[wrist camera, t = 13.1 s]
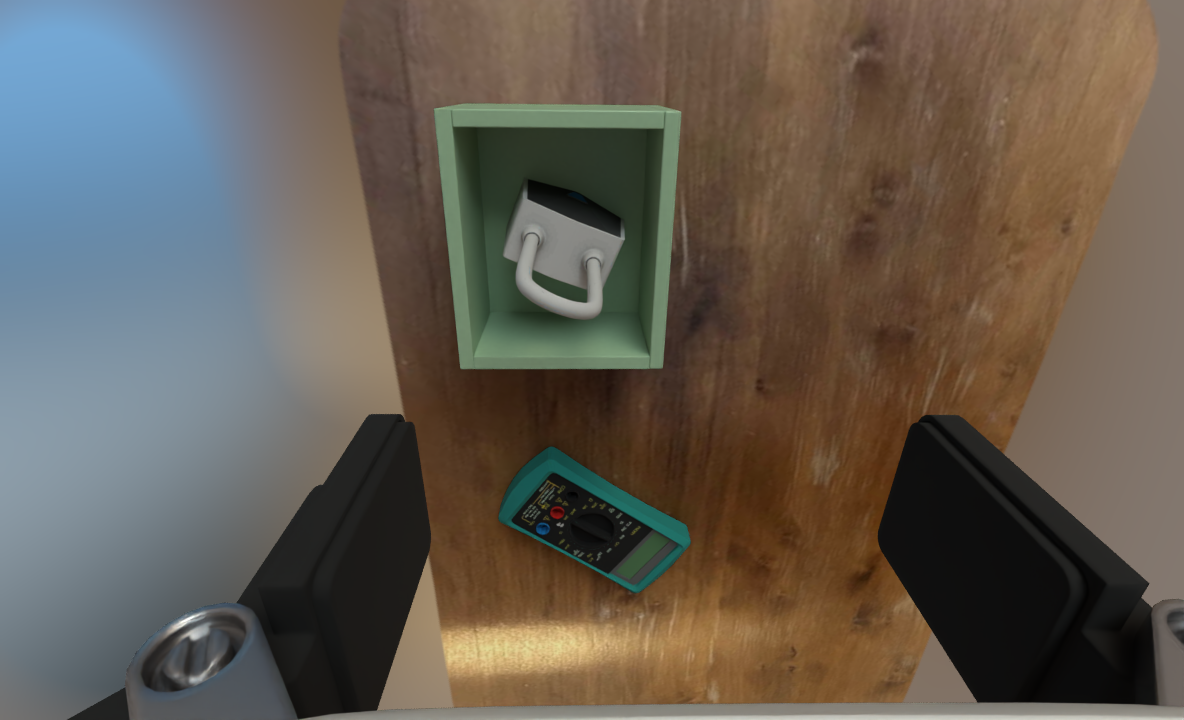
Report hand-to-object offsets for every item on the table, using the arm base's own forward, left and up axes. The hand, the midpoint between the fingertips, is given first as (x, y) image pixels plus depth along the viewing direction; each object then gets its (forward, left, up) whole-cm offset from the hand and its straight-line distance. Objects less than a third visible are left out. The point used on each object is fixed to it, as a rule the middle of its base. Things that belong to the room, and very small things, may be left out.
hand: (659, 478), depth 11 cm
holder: (+3, 0, -28) cm, 28 cm away
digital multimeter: (+13, +22, -28) cm, 38 cm away
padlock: (+3, 0, -27) cm, 28 cm away
